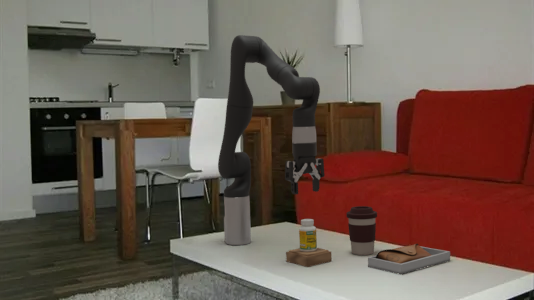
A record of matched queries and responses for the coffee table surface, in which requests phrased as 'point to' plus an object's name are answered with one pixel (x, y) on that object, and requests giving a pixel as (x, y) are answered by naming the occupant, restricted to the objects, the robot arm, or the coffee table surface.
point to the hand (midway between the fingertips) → (305, 192)
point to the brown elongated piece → (403, 254)
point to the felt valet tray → (410, 262)
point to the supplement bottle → (307, 236)
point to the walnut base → (308, 257)
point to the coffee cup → (362, 229)
